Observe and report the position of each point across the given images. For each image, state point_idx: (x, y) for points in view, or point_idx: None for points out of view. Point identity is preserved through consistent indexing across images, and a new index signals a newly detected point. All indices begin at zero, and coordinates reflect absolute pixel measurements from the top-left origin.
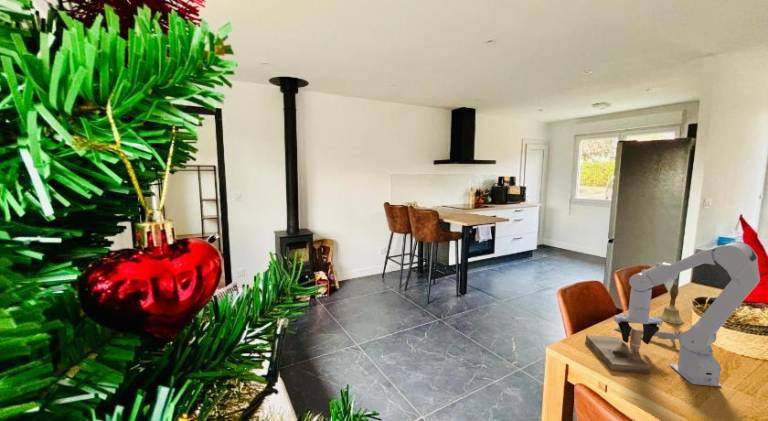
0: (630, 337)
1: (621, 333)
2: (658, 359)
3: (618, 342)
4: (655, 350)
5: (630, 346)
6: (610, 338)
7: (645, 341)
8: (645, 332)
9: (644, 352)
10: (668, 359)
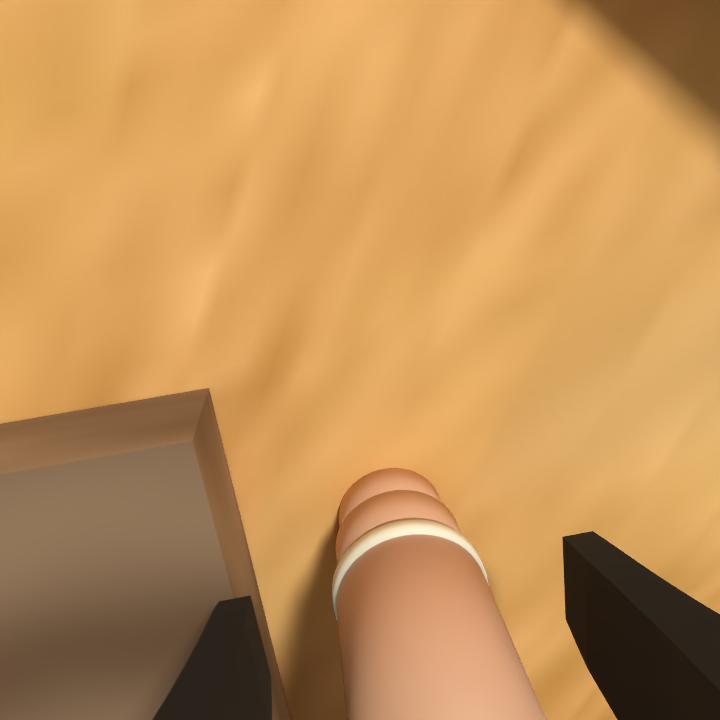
0: (344, 654)
1: (173, 687)
2: None
3: (145, 626)
4: (691, 416)
5: (337, 562)
6: (36, 533)
7: (580, 616)
8: (683, 717)
9: (505, 520)
10: (708, 588)
